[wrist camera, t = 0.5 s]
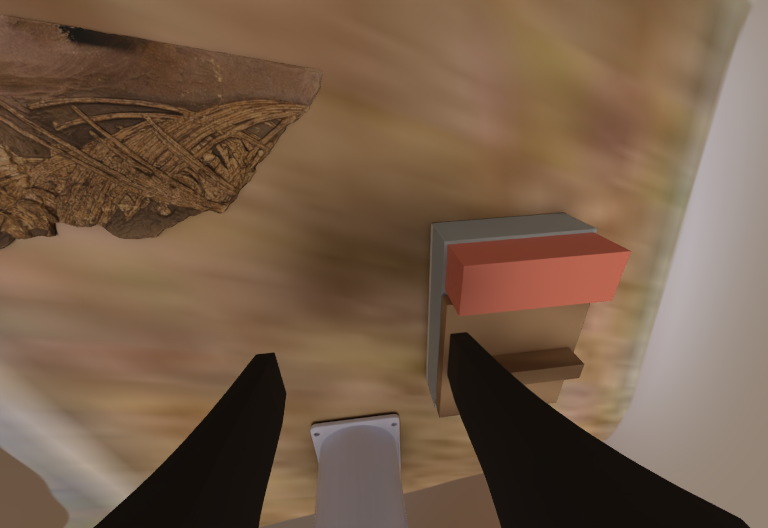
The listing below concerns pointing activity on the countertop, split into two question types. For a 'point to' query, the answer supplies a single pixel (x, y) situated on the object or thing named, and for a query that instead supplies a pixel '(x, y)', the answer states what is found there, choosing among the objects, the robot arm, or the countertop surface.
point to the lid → (517, 347)
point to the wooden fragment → (131, 128)
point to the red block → (533, 272)
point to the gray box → (478, 233)
